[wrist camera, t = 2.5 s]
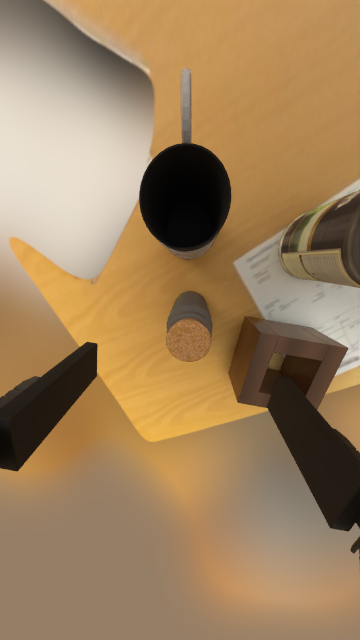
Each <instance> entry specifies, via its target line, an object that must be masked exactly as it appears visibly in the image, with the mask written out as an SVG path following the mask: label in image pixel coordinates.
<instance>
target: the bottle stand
mask: <svg viewBox="0 0 360 640" xmlns="http://www.w3.org/2000/svg"><path fill="white" fill-rule="evenodd" d="M347 350H348V348H347V347H345V346H344V345H342V344H340V343H338V342H336V341H335V340H333V339H331V338H329V337H327V336H326V335H324V334H322V333H320V332H318V331H317V330H315V329H313V328H309V327H304V326H298V325H292V324H286V323H281V322H275V321H269V320H264V319H258V318H252V317H247V316H245V318H244V321H243V325H242V328H241V332H240V335H239V338H238V342H237V345H236V349H235V352H234V356H233V359H232V363H231V366H230V370H229V373H228V374H229V377H230V380H231V383H232V386H233V389H234V392H235V396H236V399H237V402H238V403H243V404H248V405H254V406H259V407H265V408H267V404H268V401H269V399H270V396H271V394H272V391H273V389H274V386H275V383H276V381H277V378H278V376H284V377H289V378H290V379H291V380H292V381H293V382H294V384H295V385H296V386H297V387H298V388H299V390H300V391H301V392H302V393H303V394H304V395H305V397H306V398H307V399H308V400H309V401H310V403H311V404H312V405H313V406H314V407H315V408H316V410H317V409H318V407H319V405H320V403H321V401H322V399H323V397H324V395H325V393H326V391H327V389H328V387H329V385H330V383H331V381H332V379H333V378H334V376H335V374H336V372H337V370H338V368H339V366H340V364H341V362H342V360H343V358H344V356H345V354H346V352H347ZM273 352H275V353H280V354H286V357H285V360H284V362H283V365H282V367H281V370H280V371H277V370H272V369H267V368H268V365H269V362H270V359H271V357H272V354H273Z"/></svg>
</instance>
